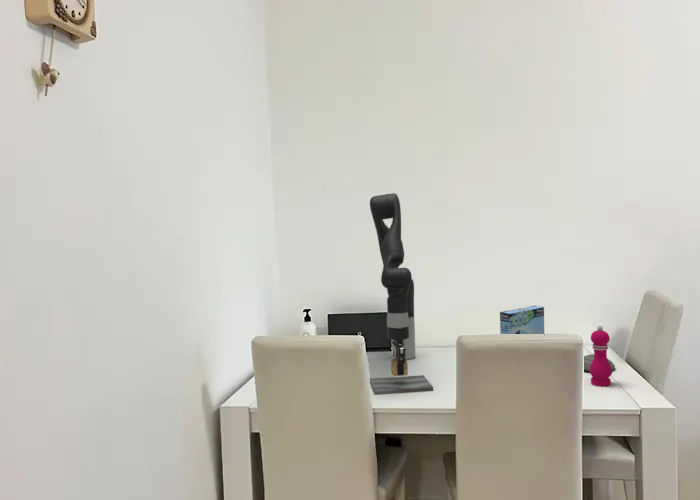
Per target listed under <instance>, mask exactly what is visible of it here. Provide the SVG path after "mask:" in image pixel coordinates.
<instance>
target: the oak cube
mask: <svg viewBox="0 0 700 500" xmlns="http://www.w3.org/2000/svg"><path fill="white" fill-rule="evenodd" d="M400 360H402V358H400ZM390 366H391V367H390V368H391V369H390V370H391V374H392V377H404V376H409V371H408V367H409V366H408V359H405V364H404V375H398V373H397V358H395V359H394V358H390Z"/></svg>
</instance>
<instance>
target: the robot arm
mask: <svg viewBox="0 0 700 500" xmlns="http://www.w3.org/2000/svg"><path fill="white" fill-rule="evenodd" d="M399 198H400V197H399V196H398V195H397V193H394V192H393V193H386V194H379V195H374V196H371V198H370V200H369V208H370V214H371V217H372V220H373V223H374V227H375V232H376V236H377V242H378V246H379V248H378V249H379V251H380V252H379V253H380V257H381V261H382V264H383V267H382V271H381V275H380V278H381V279H380V282H381V285H382V286H383V287H384V288H385V289H386V292H387V295H388V297H387V299H386V303H387V304H386V306H387V308H386V309H387V314H386V315H387V316H386V328H387V329H386V330H387V331H386V332H387V339H388V340H392V341H391V344H392V345H391V346H392V358H393V359H395V358H397V373H398V375H404V364H405V359H406V360H413V359H415V358H416V334H415V333H416V332H415V331H416V330H415V329H416V328H415V283H414V280H413V278H412V277H413V276H412V272H411V270H410V269H409V268H408V267H400V266H401V265H402V264H403V263H404V260H405V259H404V258H405V250H404V245H403V244H404V243H403V241H402V213H401V212H402V210H401V203H400V199H399ZM388 219H389V220H390V219H392V220H391V224H390V227H388V225H386V223H385V222H384V220H388ZM400 358H402V360H400Z"/></svg>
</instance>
